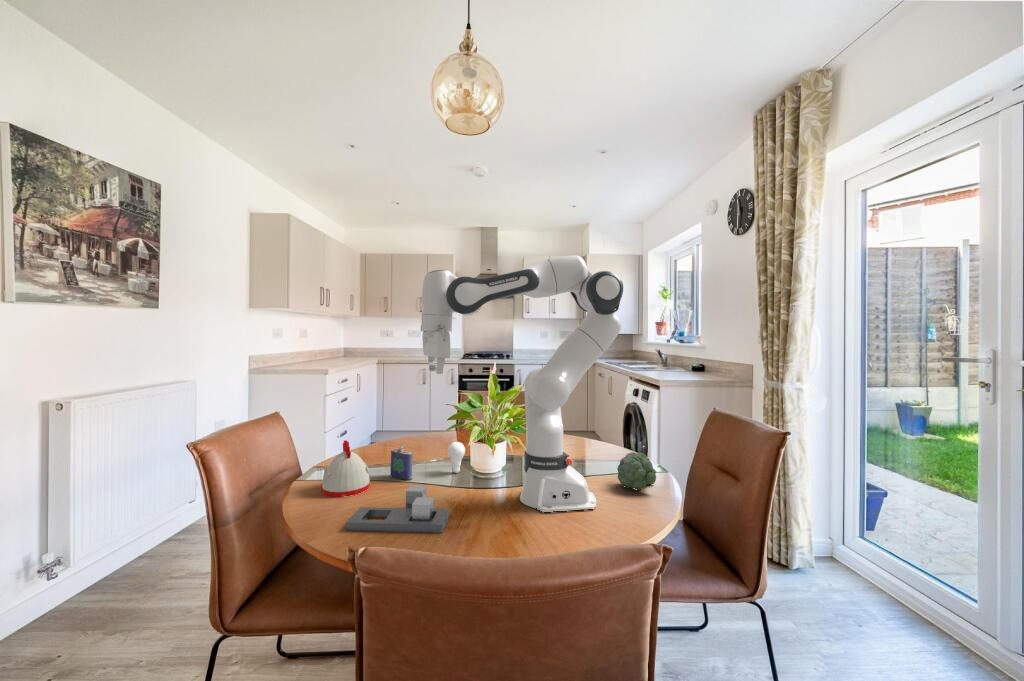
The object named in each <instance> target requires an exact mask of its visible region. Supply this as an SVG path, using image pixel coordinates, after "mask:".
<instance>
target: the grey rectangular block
mask: <svg viewBox="0 0 1024 681" xmlns="http://www.w3.org/2000/svg"><path fill="white" fill-rule="evenodd" d="M417 497H424V498H427V485H421V484H420V485H418V484H415V485H414V484H411V485H409V487H408V488H407V489H406V491H405V508H412V504H413V502H414V501H415V499H416V498H417Z"/></svg>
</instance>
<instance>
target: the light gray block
mask: <svg viewBox="0 0 1024 681" xmlns="http://www.w3.org/2000/svg"><path fill="white" fill-rule="evenodd" d="M434 500H435V498H434V497H426V498H424V497H417V498H416V499H415V501H414V502H413V504H412V521H422V522H432V520H433V515H434V509H435V508H434V502H435V501H434Z"/></svg>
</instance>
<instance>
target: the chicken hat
mask: <svg viewBox="0 0 1024 681" xmlns="http://www.w3.org/2000/svg"><path fill="white" fill-rule="evenodd" d="M342 450H343V451H342V452H340V453H338V454H337V455H336V456H335V457H334V458H333V459H332V460H331V461H330V463H329V465H328V466H327V467H324V472H323V475H322V484H321V485H322V486H321V487H322V488H321V493H323V494H322V495H323V496H325V495H326V496H325V497H328V496H331V497H330V498H345V497H344V496H349V497H351V496H350V495H354V496H356V495H355V494H357V495H359V494H358V493H361V492H363V491H365V490H366V491H368V490H369V489H370V487H369V486H370V483H371V481H370V476H369V474H370V472H369V466H368V465H367V463H366V462H365V461H363V459H362V458H361V456H360V455H358V454H357V453H355V452H353V451H350V450H351V446H350V442H349V440H347V439H346V440H343V443H342ZM368 488H369V489H368ZM367 489H368V490H367ZM366 491H365V492H366ZM363 493H364V492H363ZM361 494H362V493H361Z"/></svg>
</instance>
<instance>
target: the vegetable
mask: <svg viewBox="0 0 1024 681" xmlns="http://www.w3.org/2000/svg"><path fill="white" fill-rule="evenodd" d="M647 456H648V455H646V454H645V453H643V452H637V453H636V452H634V451H633V452H628V453H627V454H626V455H625V456H623V457H622V458H621V459H620V460H619V464H618V466H617V479H618V481H619V483H620V484H621V486H622V485H623V486H625V487H624V488H627V489H630V488H631V489H632V488H635V489H637V491H642V490H644V488H646V486H647V485H654V484H655V483H656V481H657V476H656V473H657V471H656V469H655V468H654V466H653V463H652V461H650V458H648V457H647ZM623 486H622V487H623Z"/></svg>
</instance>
